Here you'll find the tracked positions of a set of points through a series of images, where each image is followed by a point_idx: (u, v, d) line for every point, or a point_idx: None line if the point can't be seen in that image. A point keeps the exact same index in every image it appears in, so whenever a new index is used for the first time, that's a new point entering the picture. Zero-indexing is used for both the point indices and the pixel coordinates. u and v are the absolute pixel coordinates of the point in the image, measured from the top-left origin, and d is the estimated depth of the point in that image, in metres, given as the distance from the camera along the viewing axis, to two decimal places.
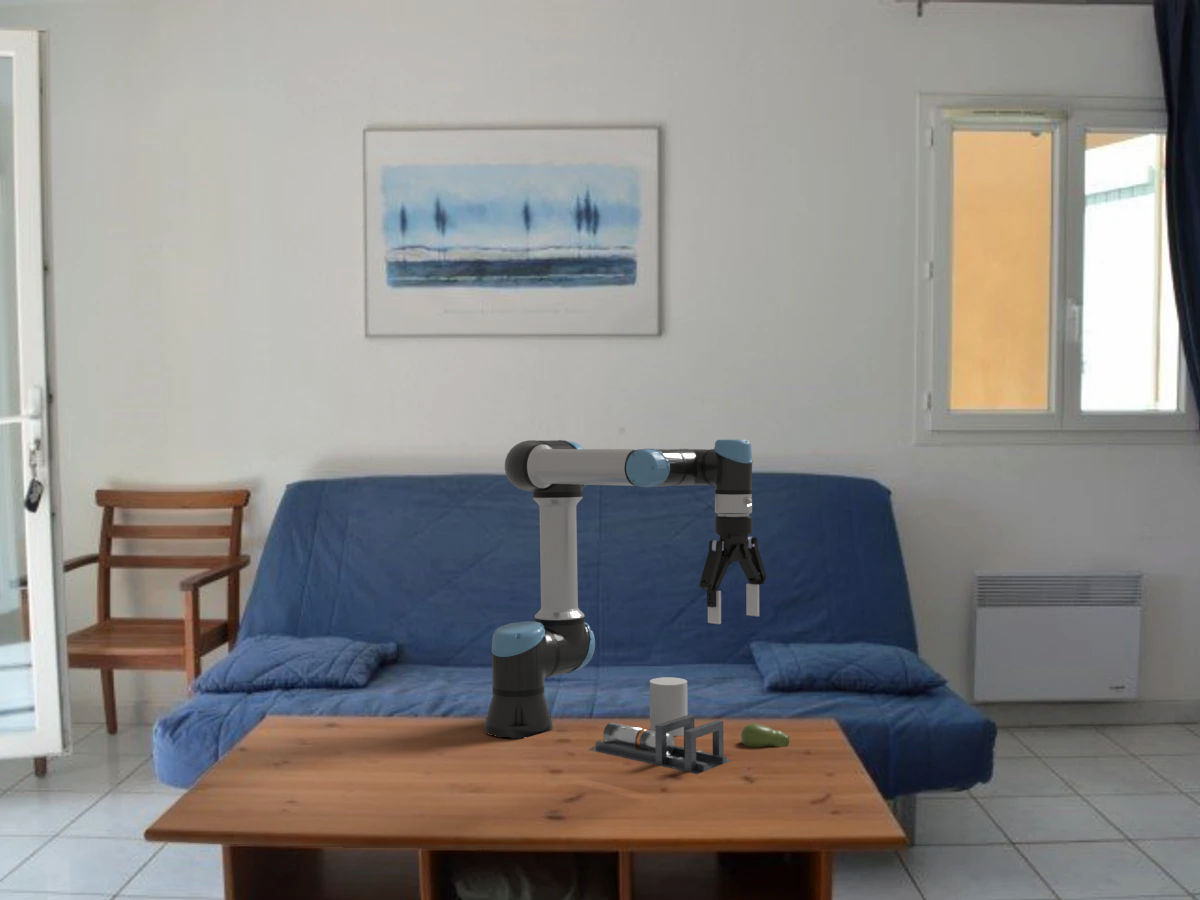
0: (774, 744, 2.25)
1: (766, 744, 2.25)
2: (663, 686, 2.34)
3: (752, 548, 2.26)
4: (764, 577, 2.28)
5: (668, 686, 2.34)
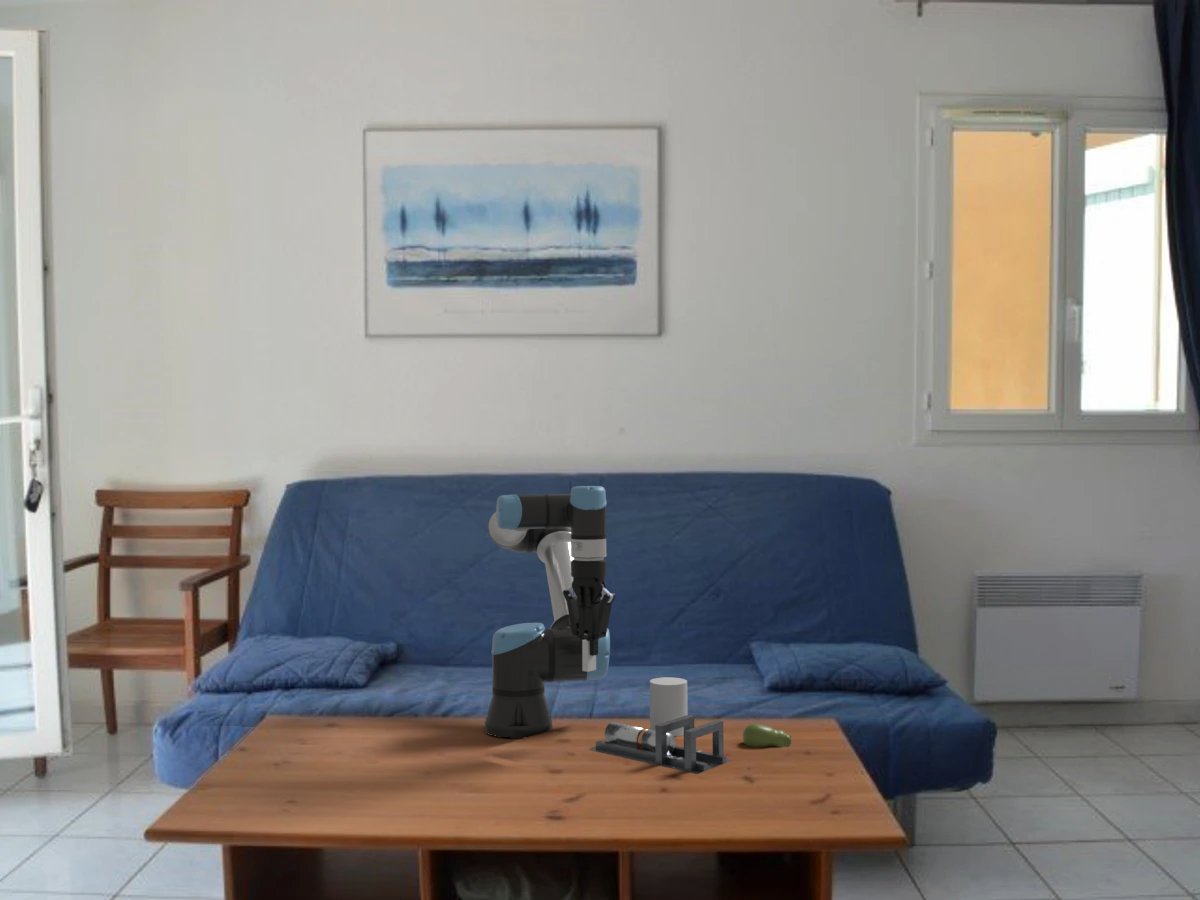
0: (776, 744, 2.25)
1: (768, 744, 2.25)
2: (663, 686, 2.34)
3: None
4: (595, 635, 2.28)
5: (668, 686, 2.34)
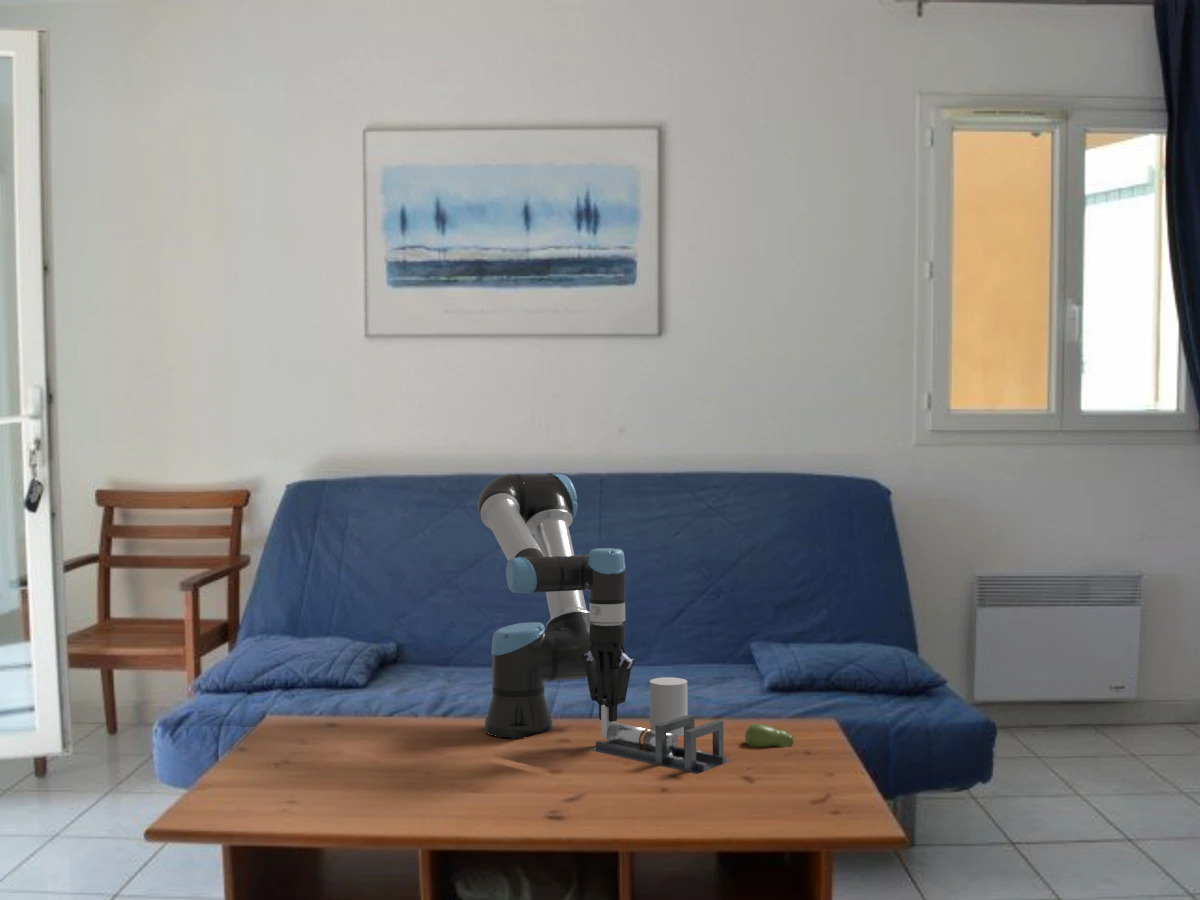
0: (778, 744, 2.25)
1: (770, 744, 2.25)
2: (663, 686, 2.34)
3: None
4: (614, 701, 2.25)
5: (668, 686, 2.34)
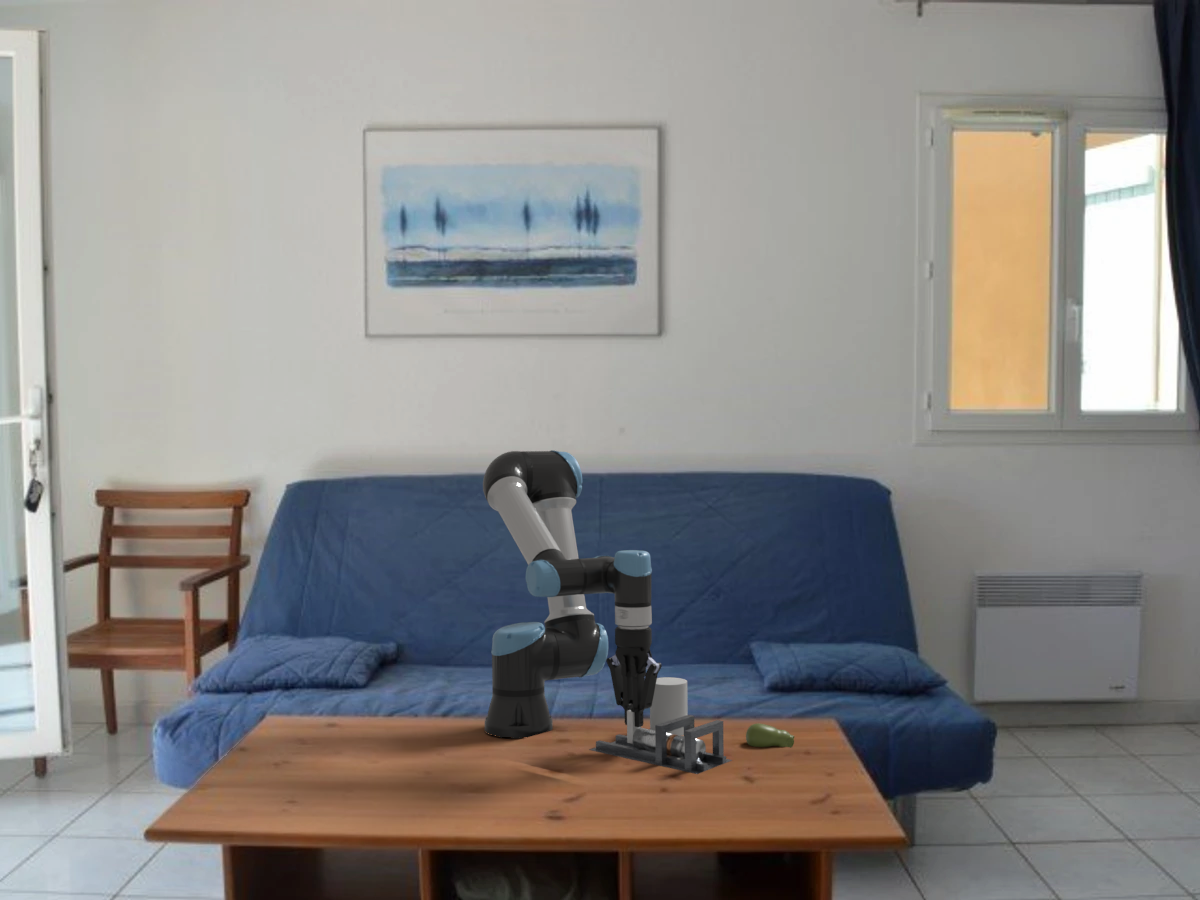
0: (779, 744, 2.25)
1: (771, 744, 2.25)
2: (663, 686, 2.34)
3: None
4: (641, 706, 2.20)
5: (668, 686, 2.34)
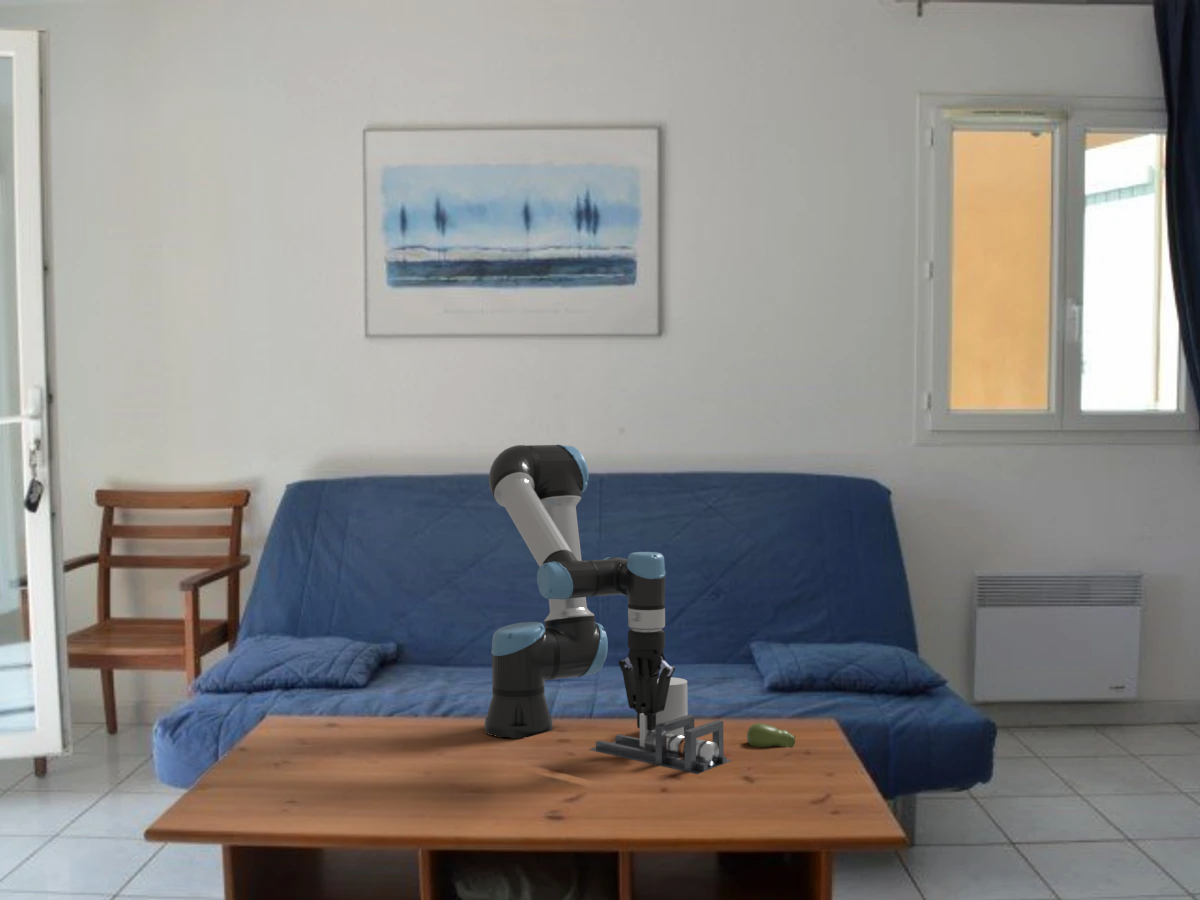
0: (780, 744, 2.25)
1: (772, 744, 2.25)
2: None
3: None
4: (654, 709, 2.18)
5: None
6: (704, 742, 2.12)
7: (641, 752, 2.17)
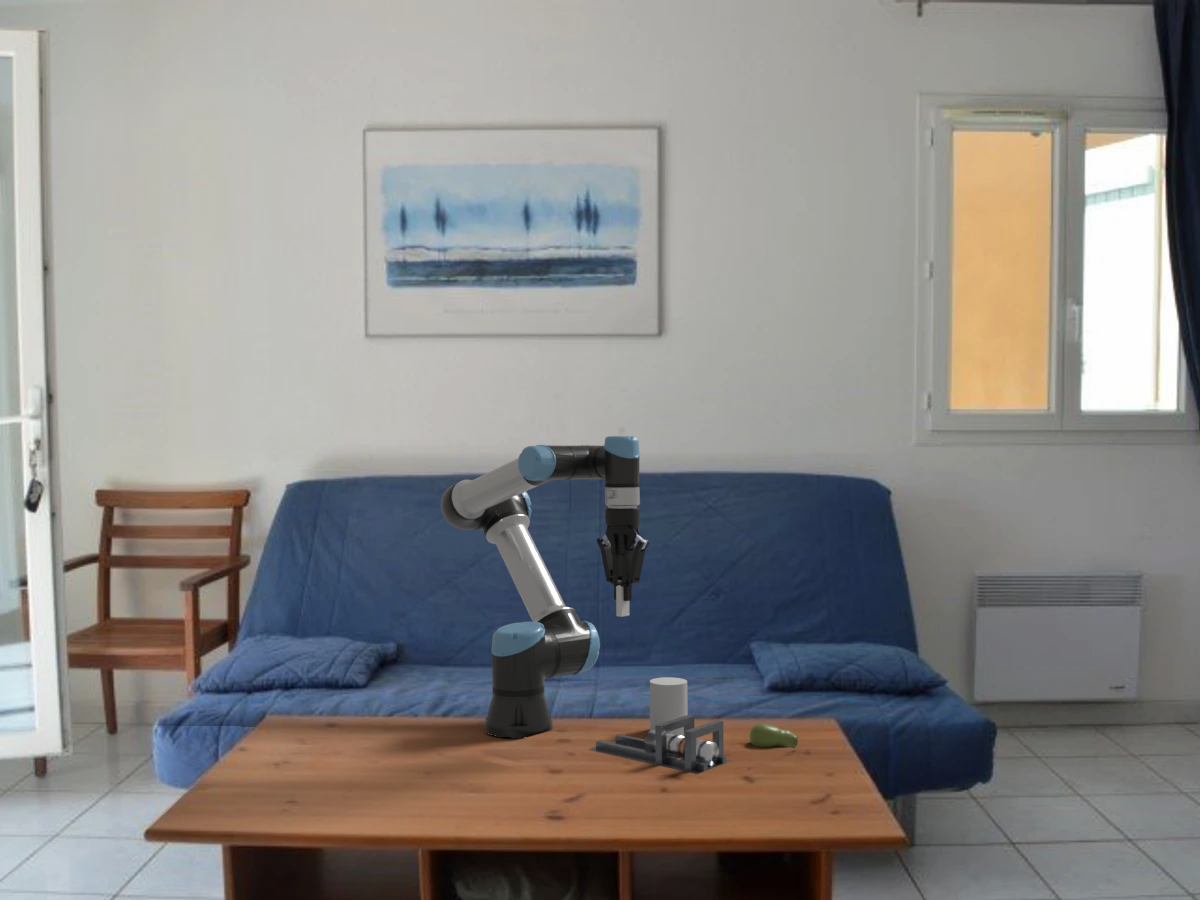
0: (783, 744, 2.25)
1: (775, 744, 2.25)
2: (663, 686, 2.34)
3: None
4: (629, 580, 2.34)
5: (668, 686, 2.34)
6: (704, 742, 2.12)
7: (641, 752, 2.17)
